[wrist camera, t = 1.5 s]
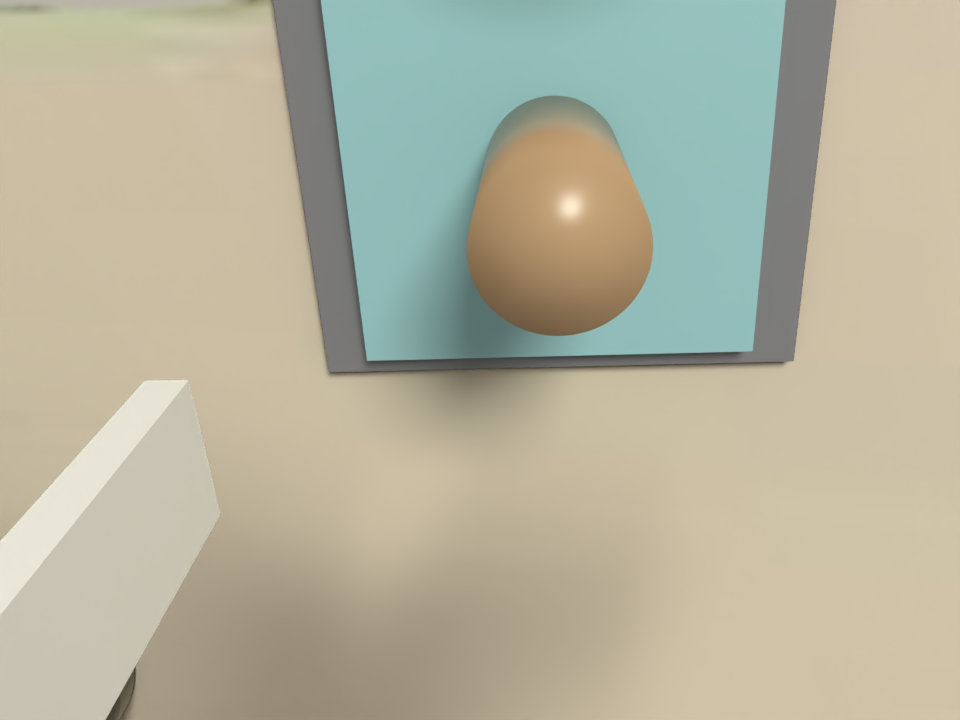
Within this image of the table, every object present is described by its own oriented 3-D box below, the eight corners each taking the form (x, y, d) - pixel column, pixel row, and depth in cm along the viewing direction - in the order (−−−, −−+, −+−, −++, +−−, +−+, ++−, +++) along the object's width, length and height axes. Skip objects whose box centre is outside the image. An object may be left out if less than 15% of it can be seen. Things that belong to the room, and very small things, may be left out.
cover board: (370, 350, 37) (310, 499, 27) (319, -60, 30) (212, -61, 20) (747, 340, 36) (828, 493, 26) (786, -90, 28) (918, -108, 19)
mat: (331, 366, 38) (328, 372, 37) (264, -88, 30) (259, -89, 29) (789, 354, 36) (793, 361, 36) (845, -127, 28) (851, -129, 28)
